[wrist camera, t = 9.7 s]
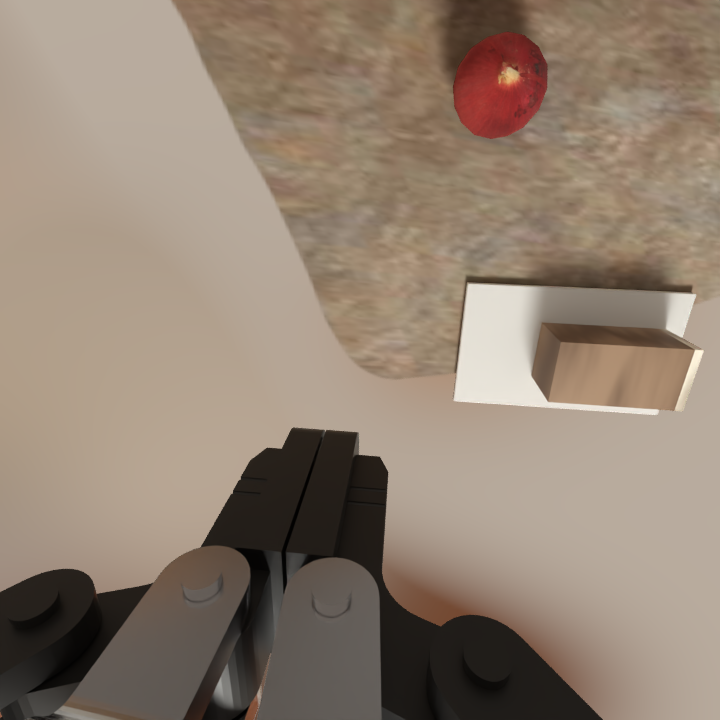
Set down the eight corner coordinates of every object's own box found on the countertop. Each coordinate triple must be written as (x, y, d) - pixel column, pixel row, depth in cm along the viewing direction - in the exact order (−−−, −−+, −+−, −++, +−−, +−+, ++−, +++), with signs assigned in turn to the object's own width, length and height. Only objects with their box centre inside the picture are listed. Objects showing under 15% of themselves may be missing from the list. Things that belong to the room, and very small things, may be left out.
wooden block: (541, 322, 37) (665, 329, 36) (531, 376, 39) (649, 383, 38) (561, 342, 32) (703, 350, 31) (548, 402, 34) (682, 411, 33)
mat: (691, 292, 35) (696, 294, 35) (653, 411, 39) (657, 415, 39) (466, 282, 37) (467, 283, 36) (453, 398, 41) (453, 400, 40)
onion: (529, 43, 30) (569, -3, 23) (531, 134, 32) (568, 119, 25) (445, 61, 31) (457, 22, 24) (451, 149, 33) (465, 138, 26)
